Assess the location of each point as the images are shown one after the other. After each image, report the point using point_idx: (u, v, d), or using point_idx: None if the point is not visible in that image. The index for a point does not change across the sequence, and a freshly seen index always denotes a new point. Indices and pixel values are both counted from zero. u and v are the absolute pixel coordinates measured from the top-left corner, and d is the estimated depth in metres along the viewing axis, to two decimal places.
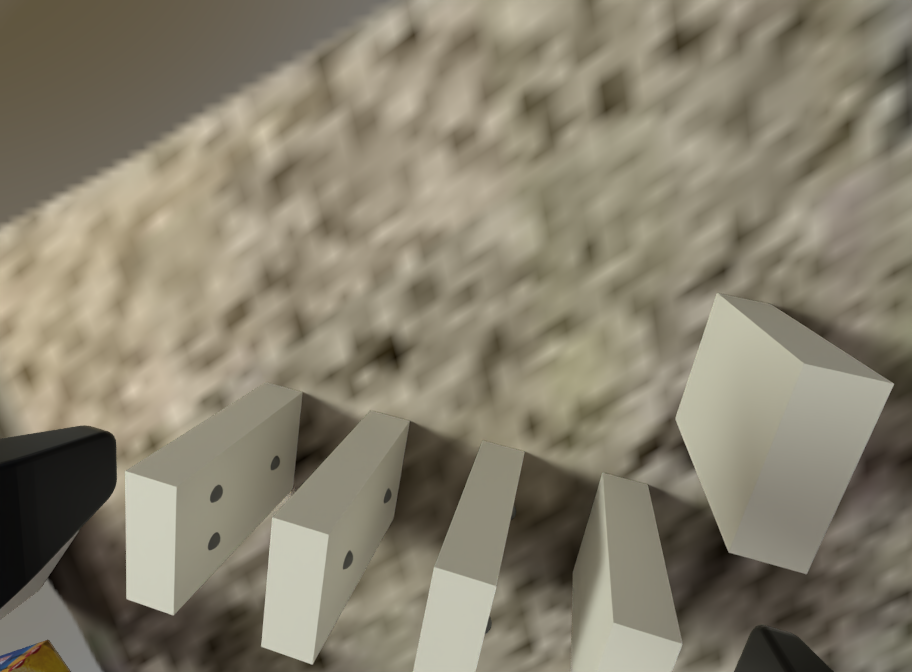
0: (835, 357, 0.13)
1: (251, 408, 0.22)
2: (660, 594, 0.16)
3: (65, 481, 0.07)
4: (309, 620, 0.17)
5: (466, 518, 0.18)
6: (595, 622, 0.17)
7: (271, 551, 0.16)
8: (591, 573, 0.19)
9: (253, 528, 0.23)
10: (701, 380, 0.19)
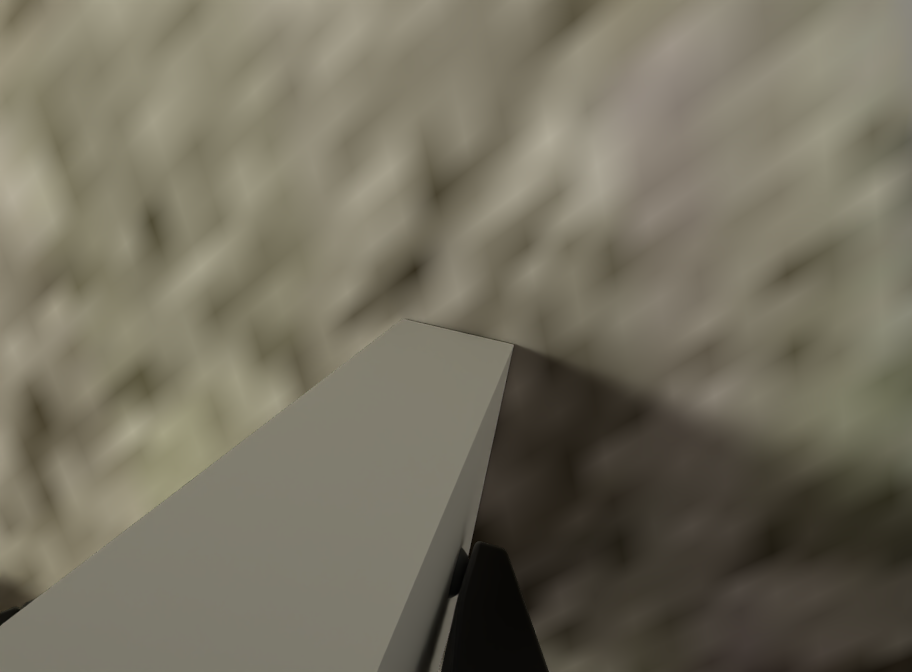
0: None
1: None
2: None
3: None
4: None
5: None
6: None
7: None
8: None
9: None
10: None
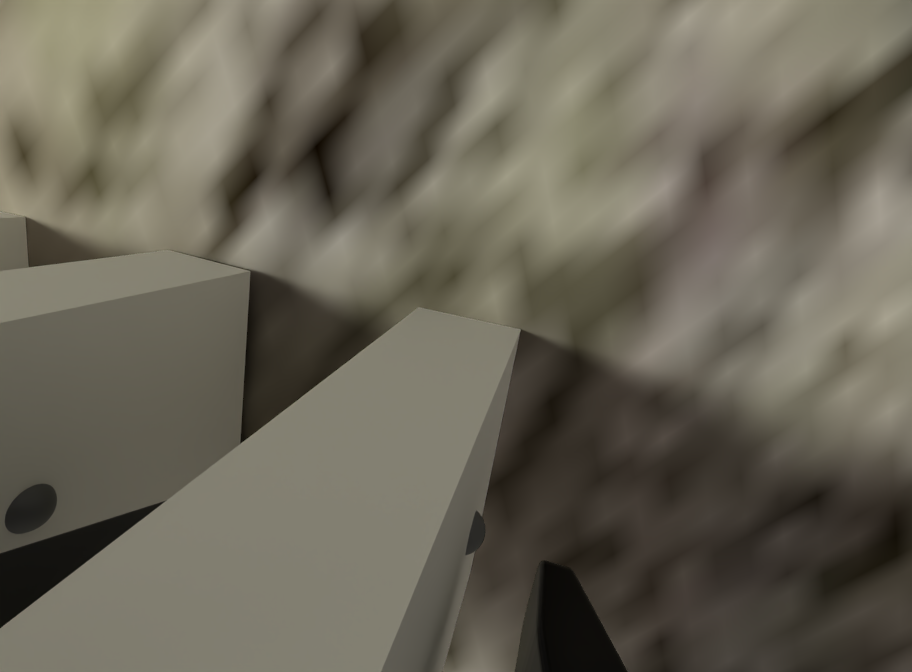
0: (285, 610, 0.03)
1: None
2: None
3: None
4: None
5: None
6: None
7: None
8: None
9: None
10: None
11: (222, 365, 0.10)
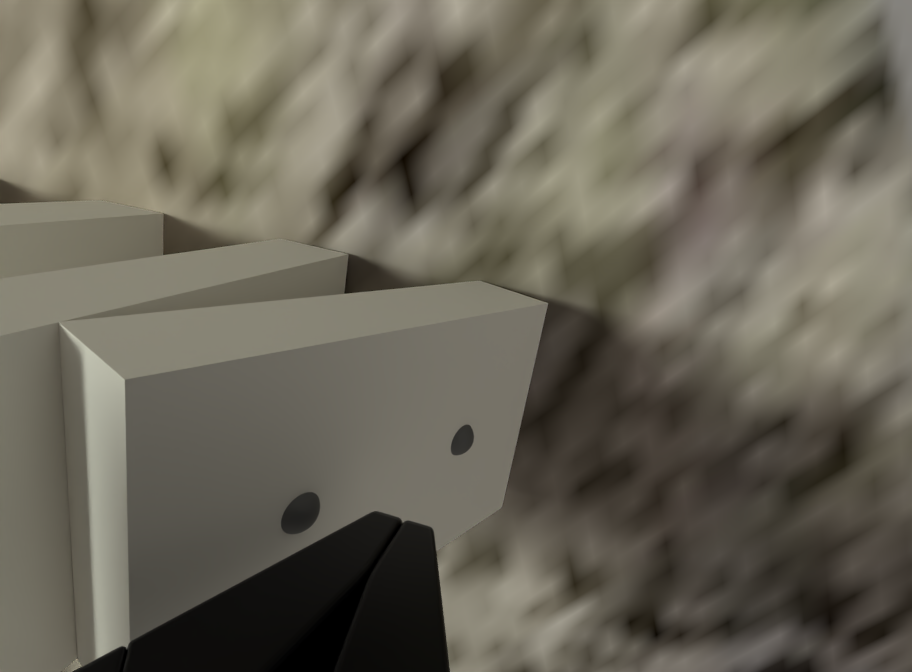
0: (225, 338, 0.07)
1: None
2: (91, 303, 0.07)
3: None
4: None
5: None
6: None
7: None
8: None
9: None
10: None
11: None
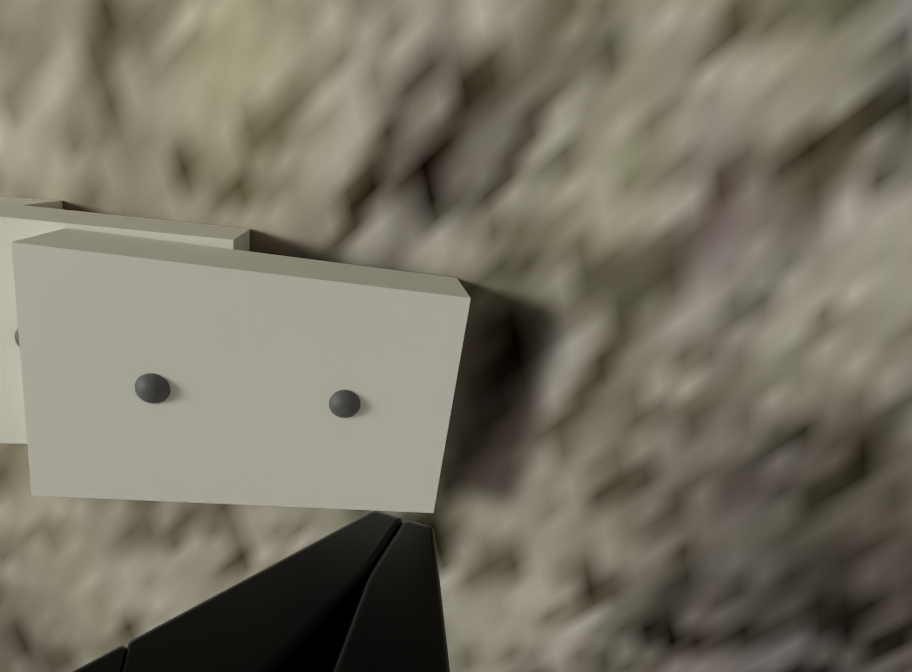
0: (113, 246, 0.10)
1: None
2: None
3: None
4: None
5: None
6: None
7: None
8: None
9: None
10: None
11: None
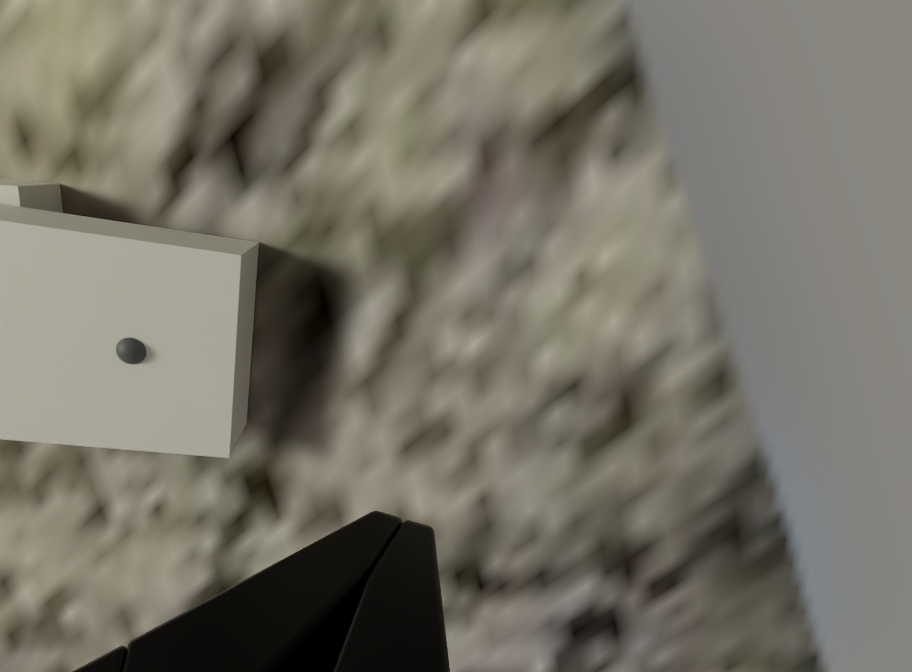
0: None
1: None
2: None
3: None
4: None
5: None
6: None
7: None
8: None
9: None
10: None
11: None
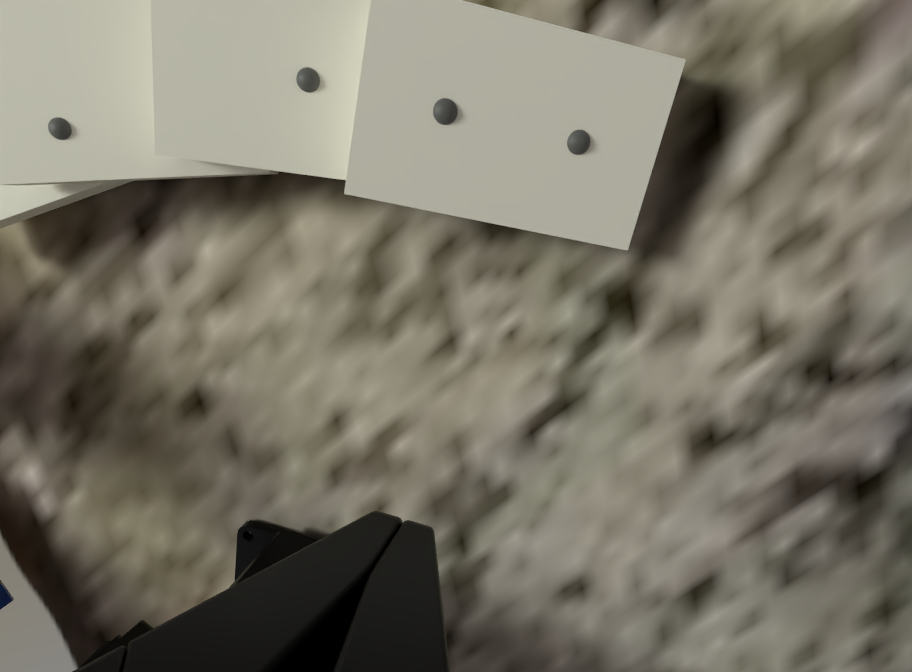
0: None
1: None
2: None
3: None
4: None
5: None
6: None
7: None
8: None
9: None
10: None
11: None
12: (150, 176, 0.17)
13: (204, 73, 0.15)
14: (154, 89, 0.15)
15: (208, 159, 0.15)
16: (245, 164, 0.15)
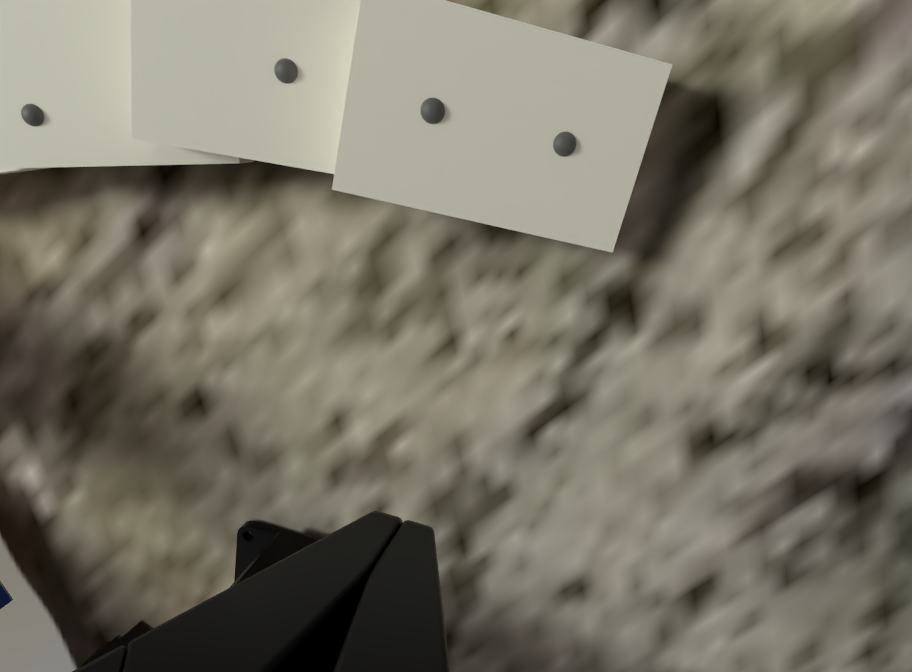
0: None
1: None
2: None
3: None
4: None
5: None
6: None
7: None
8: None
9: None
10: None
11: None
12: (122, 164, 0.17)
13: (182, 60, 0.15)
14: (132, 73, 0.15)
15: (185, 145, 0.15)
16: (221, 152, 0.16)
